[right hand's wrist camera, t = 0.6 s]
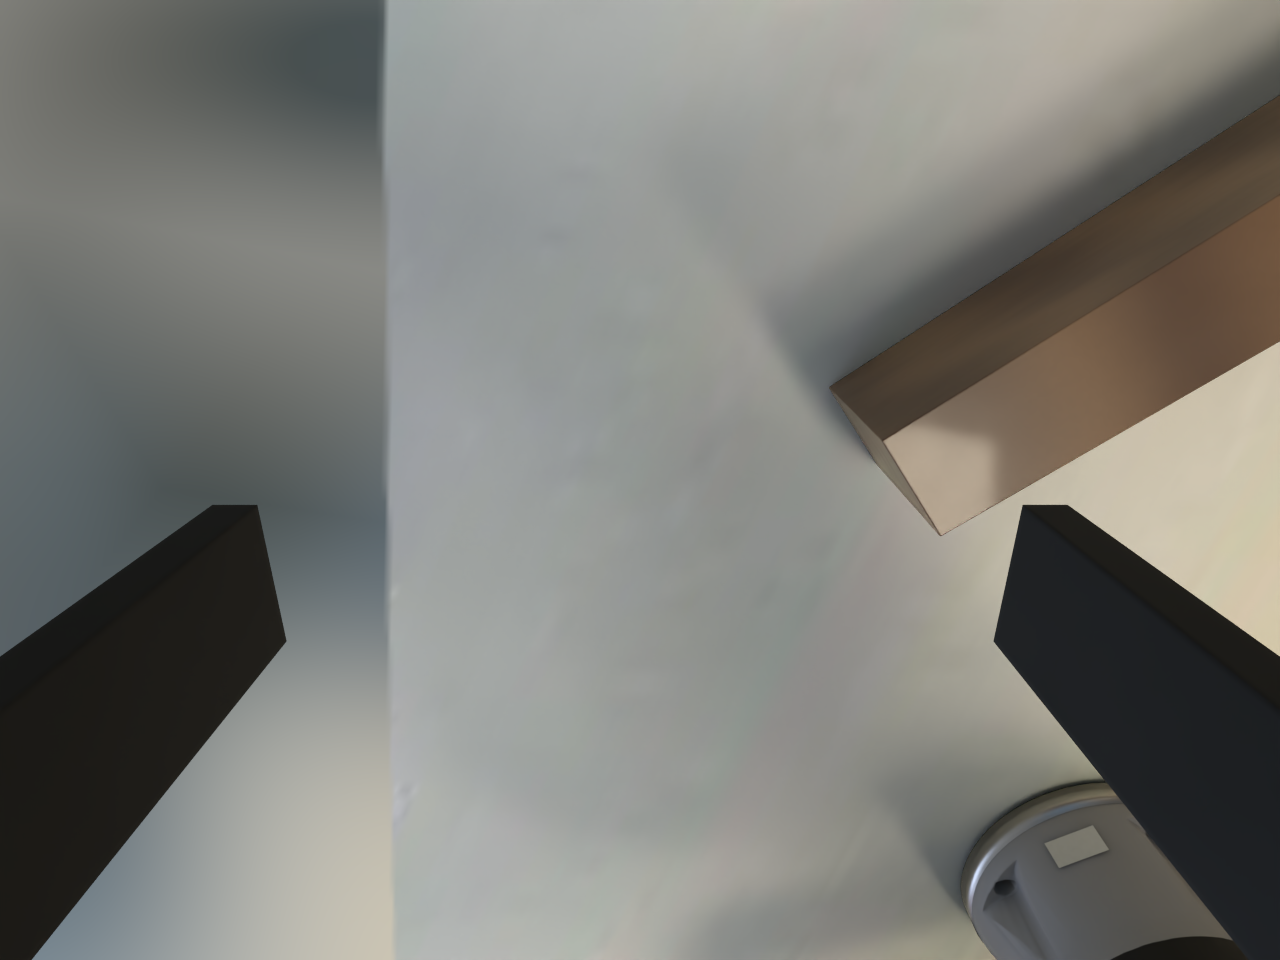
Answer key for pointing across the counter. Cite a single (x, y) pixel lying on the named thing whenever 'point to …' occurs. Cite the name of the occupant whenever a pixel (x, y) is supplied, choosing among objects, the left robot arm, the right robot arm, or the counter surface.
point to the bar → (1083, 333)
